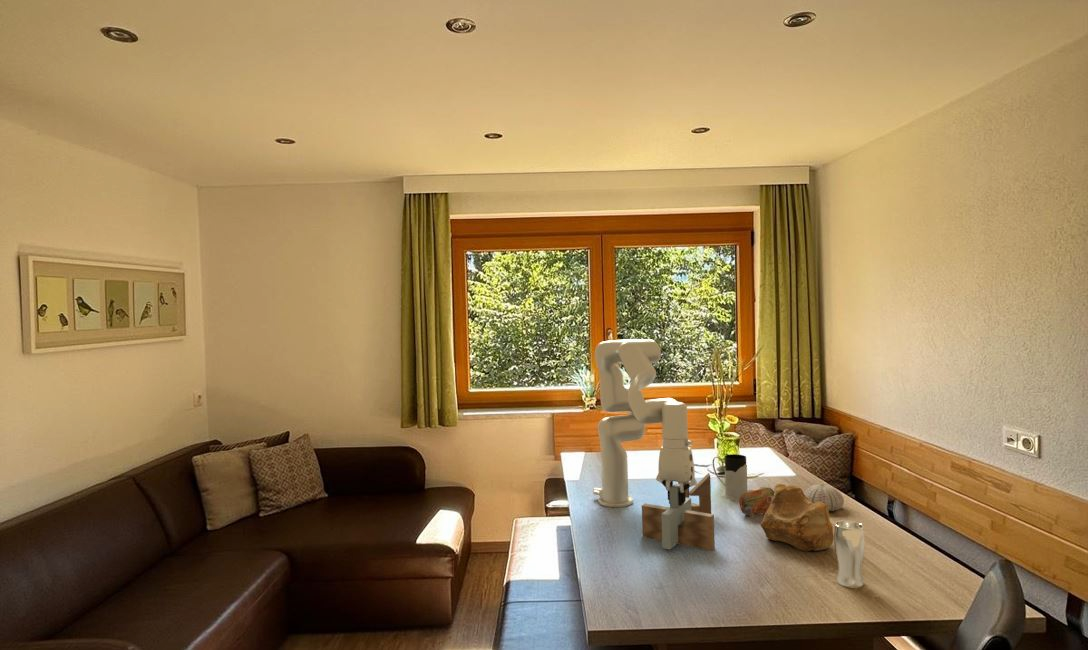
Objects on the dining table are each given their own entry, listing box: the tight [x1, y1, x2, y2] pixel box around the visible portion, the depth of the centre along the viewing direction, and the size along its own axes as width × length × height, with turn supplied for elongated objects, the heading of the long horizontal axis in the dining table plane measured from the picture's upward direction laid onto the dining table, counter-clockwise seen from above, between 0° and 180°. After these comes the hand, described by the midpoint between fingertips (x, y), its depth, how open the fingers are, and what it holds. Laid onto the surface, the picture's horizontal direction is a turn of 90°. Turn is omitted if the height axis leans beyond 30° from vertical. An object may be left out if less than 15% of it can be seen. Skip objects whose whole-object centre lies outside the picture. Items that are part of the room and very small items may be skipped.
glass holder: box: [712, 453, 748, 502], centre depth 235 cm, size 9×14×15 cm, turn 41°
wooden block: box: [677, 472, 712, 514], centre depth 215 cm, size 4×11×18 cm, turn 83°
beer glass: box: [833, 519, 866, 589], centre depth 160 cm, size 7×7×15 cm
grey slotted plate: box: [661, 483, 692, 550], centre depth 191 cm, size 18×2×16 cm, turn 147°
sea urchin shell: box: [803, 483, 845, 512], centre depth 219 cm, size 13×14×8 cm
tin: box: [739, 486, 774, 517], centre depth 215 cm, size 15×3×8 cm, turn 117°
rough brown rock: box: [760, 483, 834, 553], centre depth 189 cm, size 23×17×15 cm
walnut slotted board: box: [641, 503, 716, 551], centre depth 191 cm, size 22×2×10 cm, turn 57°
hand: (676, 503), depth 191 cm, fingers closed on grey slotted plate, 2 cm apart
